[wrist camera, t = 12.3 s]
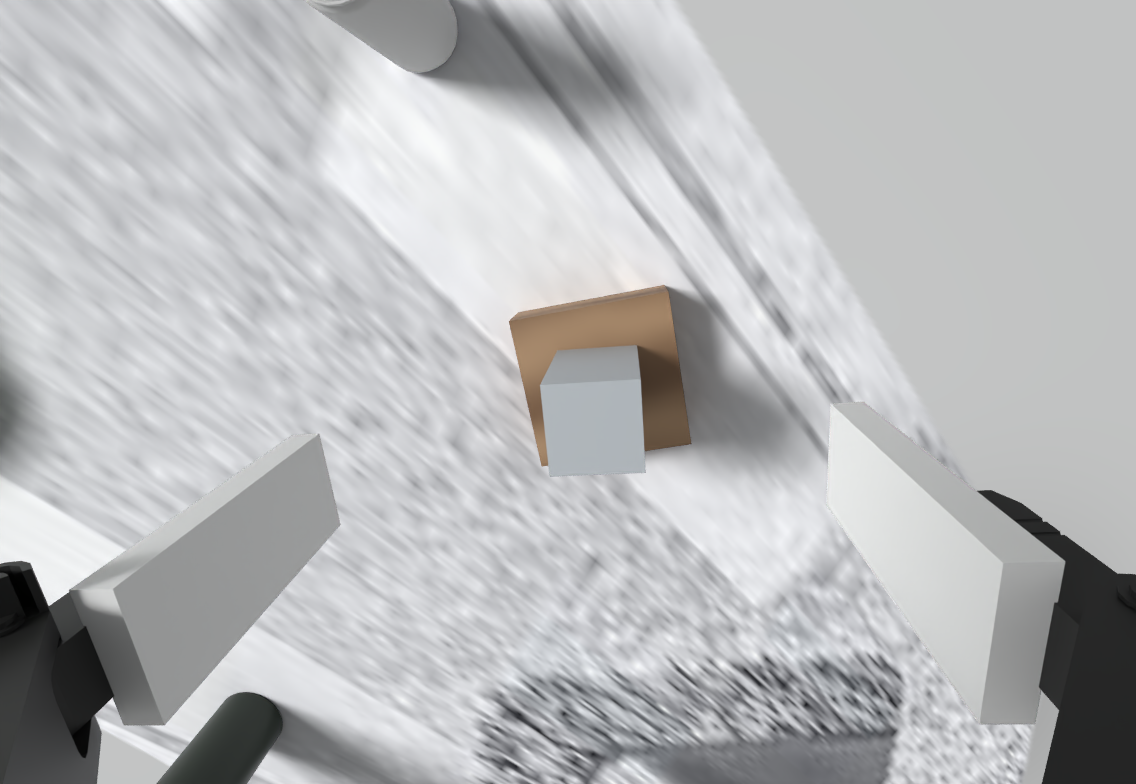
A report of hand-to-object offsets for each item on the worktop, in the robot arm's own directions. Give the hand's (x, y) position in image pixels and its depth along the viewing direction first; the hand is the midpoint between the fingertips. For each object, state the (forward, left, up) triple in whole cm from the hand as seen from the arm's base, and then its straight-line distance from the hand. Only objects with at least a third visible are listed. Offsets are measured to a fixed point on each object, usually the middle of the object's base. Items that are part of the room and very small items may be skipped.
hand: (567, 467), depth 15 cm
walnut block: (+4, 0, -26) cm, 26 cm away
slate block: (+4, 0, -22) cm, 22 cm away
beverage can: (-18, -9, -26) cm, 33 cm away
